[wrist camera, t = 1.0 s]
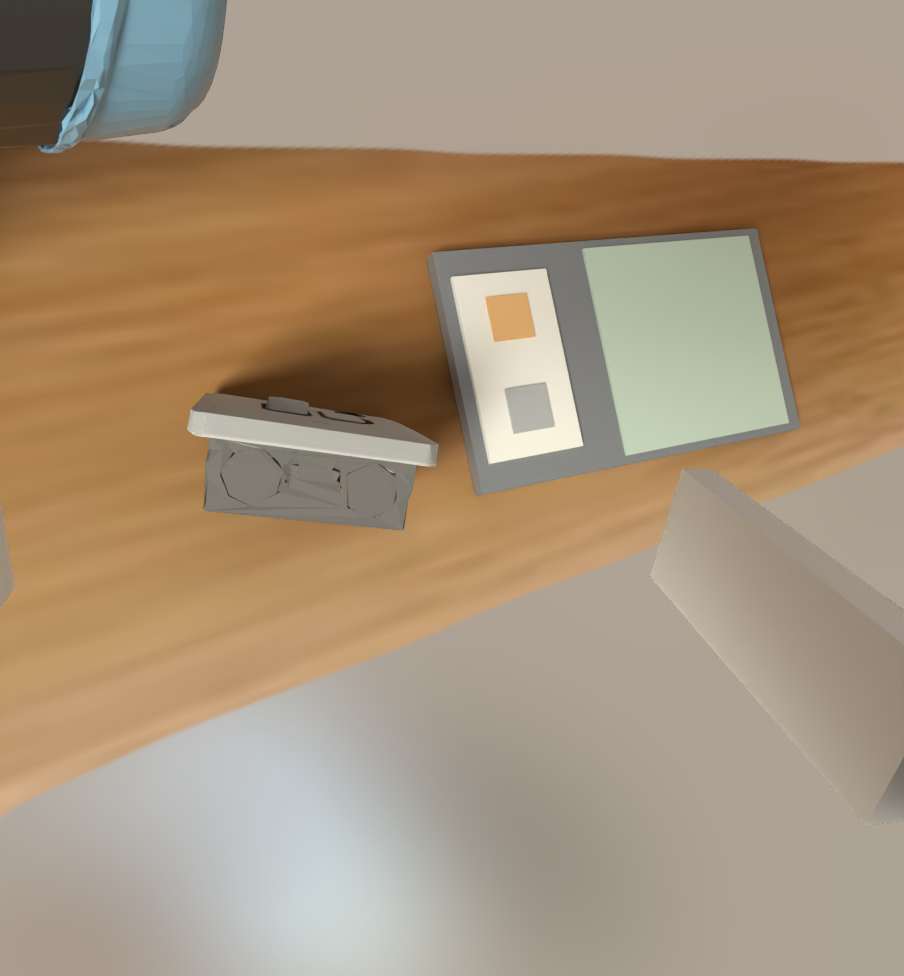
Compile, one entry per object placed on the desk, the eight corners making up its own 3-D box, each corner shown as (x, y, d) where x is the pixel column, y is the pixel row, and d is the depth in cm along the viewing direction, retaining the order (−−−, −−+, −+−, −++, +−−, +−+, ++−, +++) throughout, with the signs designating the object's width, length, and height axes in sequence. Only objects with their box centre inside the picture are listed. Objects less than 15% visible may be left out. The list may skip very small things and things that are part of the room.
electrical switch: (395, 421, 35) (449, 402, 26) (383, 520, 35) (434, 534, 26) (204, 392, 32) (192, 359, 23) (191, 500, 32) (173, 508, 23)
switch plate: (475, 496, 36) (485, 494, 34) (426, 259, 36) (434, 248, 35) (787, 431, 43) (806, 427, 42) (745, 235, 43) (762, 225, 42)
